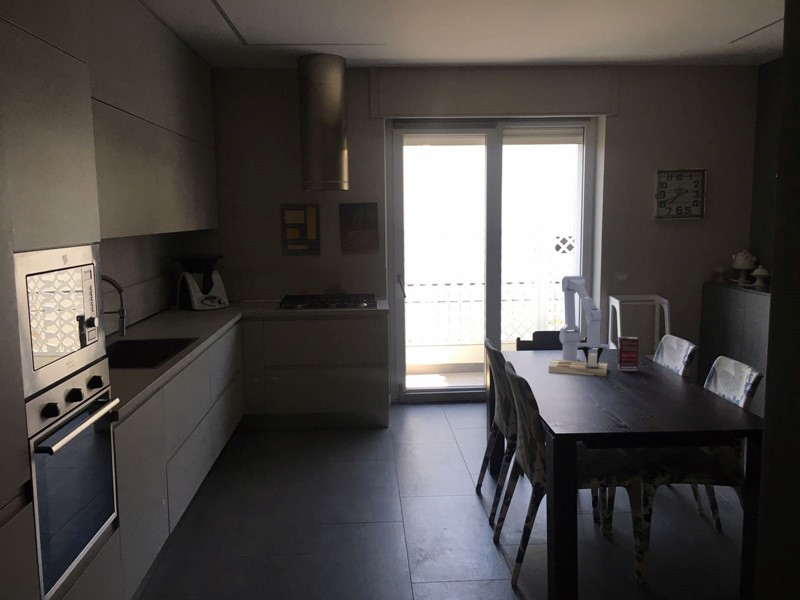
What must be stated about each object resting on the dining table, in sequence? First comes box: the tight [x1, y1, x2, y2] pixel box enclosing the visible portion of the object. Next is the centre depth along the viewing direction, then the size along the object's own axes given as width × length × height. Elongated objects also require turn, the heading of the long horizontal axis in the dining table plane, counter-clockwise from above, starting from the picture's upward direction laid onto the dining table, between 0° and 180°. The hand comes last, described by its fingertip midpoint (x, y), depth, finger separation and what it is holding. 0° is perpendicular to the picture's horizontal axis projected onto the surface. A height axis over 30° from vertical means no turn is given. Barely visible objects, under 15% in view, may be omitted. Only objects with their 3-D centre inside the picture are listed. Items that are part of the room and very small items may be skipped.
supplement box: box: [617, 336, 639, 372], centre depth 306 cm, size 9×5×16 cm, turn 84°
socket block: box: [548, 358, 609, 377], centre depth 306 cm, size 14×26×3 cm, turn 69°
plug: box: [588, 352, 597, 367], centre depth 303 cm, size 4×4×6 cm
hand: (592, 362), depth 304 cm, fingers closed on plug, 4 cm apart
